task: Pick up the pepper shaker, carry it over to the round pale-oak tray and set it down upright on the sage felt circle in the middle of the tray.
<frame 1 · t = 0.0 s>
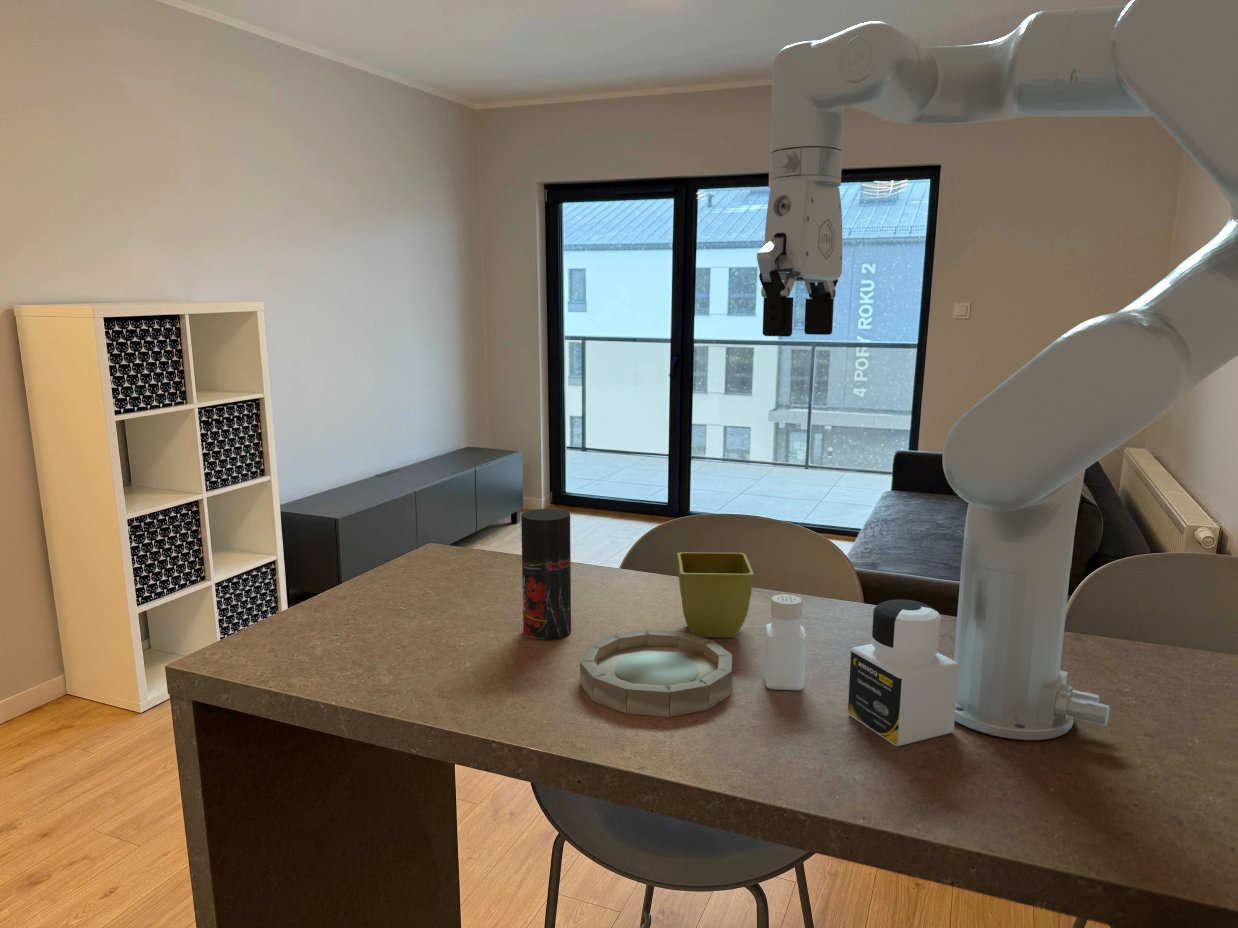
hand: (798, 335, 92), 37 cm above the table, tool pointing down, fingers open, 9 cm apart
deodorant: (547, 632, 105), on the table
flower pot: (712, 632, 105), on the table
tray: (656, 680, 91), on the table
medicine bottle: (899, 725, 81), on the table
pepper shaker: (783, 685, 90), on the table
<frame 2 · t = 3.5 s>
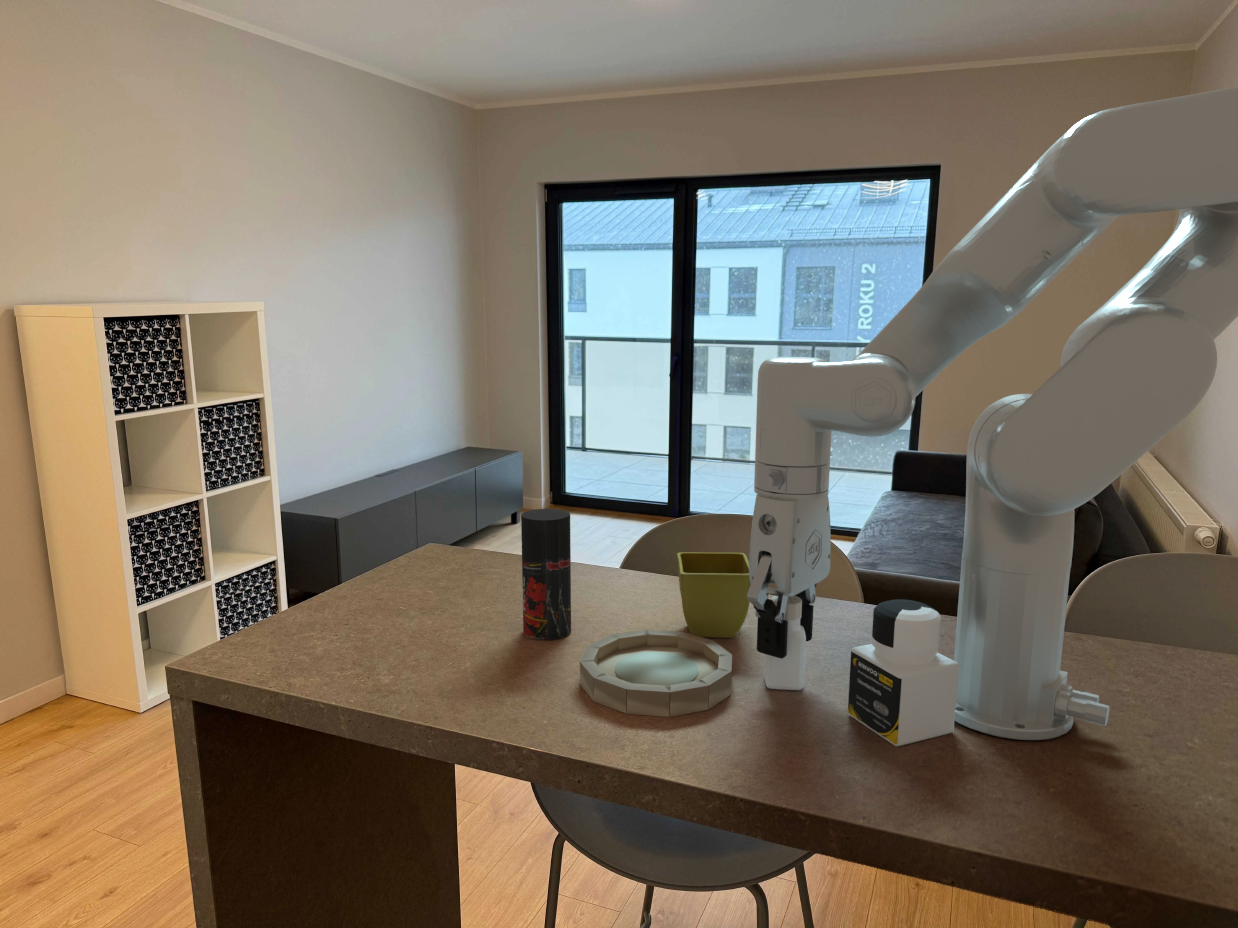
hand: (784, 644, 89), 4 cm above the table, tool pointing down, fingers closed on pepper shaker, 5 cm apart
pepper shaker: (783, 685, 90), on the table, touching gripper
everything else where it was.
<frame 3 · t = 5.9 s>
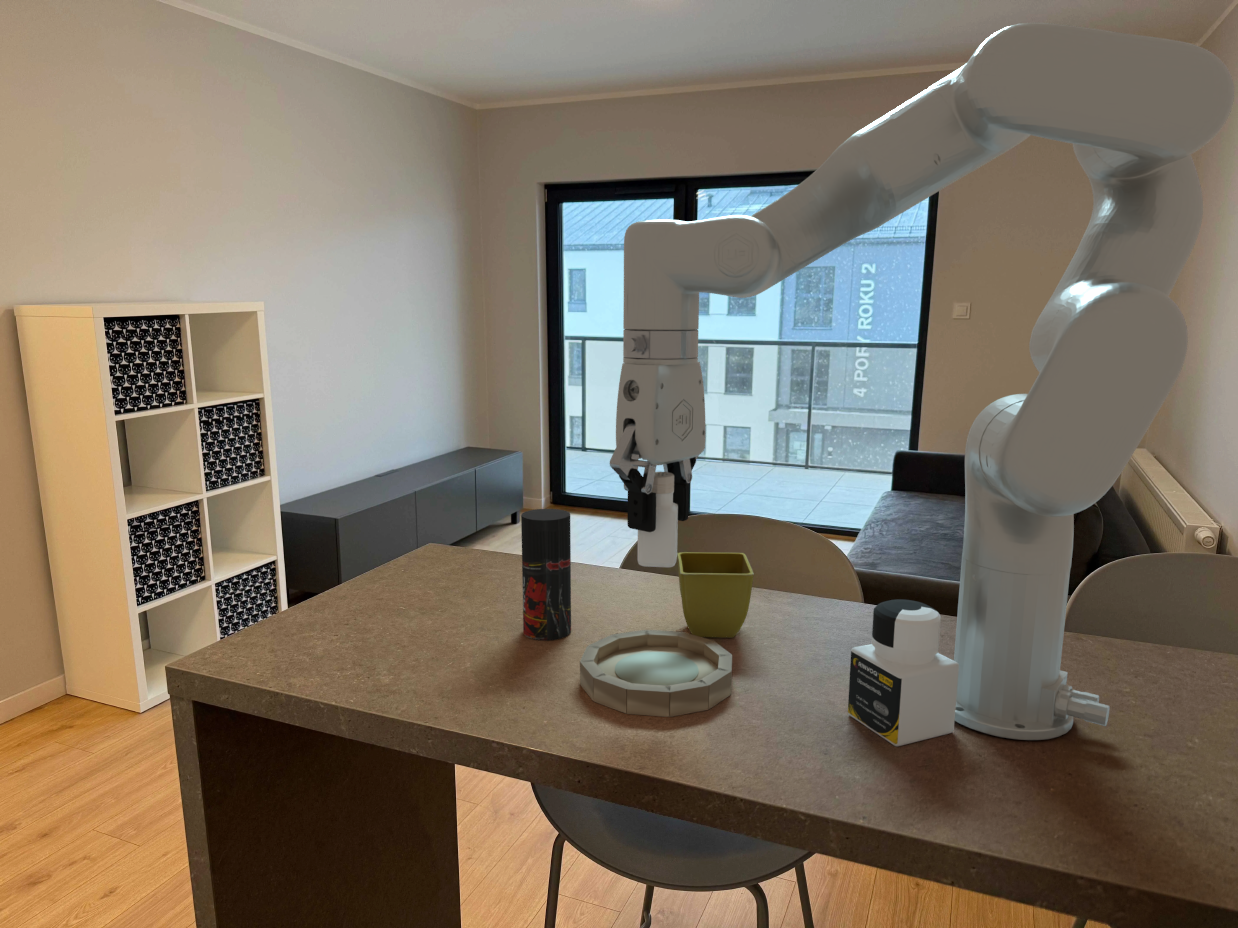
hand: (658, 522, 88), 18 cm above the table, tool pointing down, fingers closed on pepper shaker, 5 cm apart
pepper shaker: (657, 564, 88), point 13 cm above the table, touching gripper
everything else where it was.
when the fingers open (7 cm above the table, at t = 8.2 s): pepper shaker stays where it is, resting on tray.
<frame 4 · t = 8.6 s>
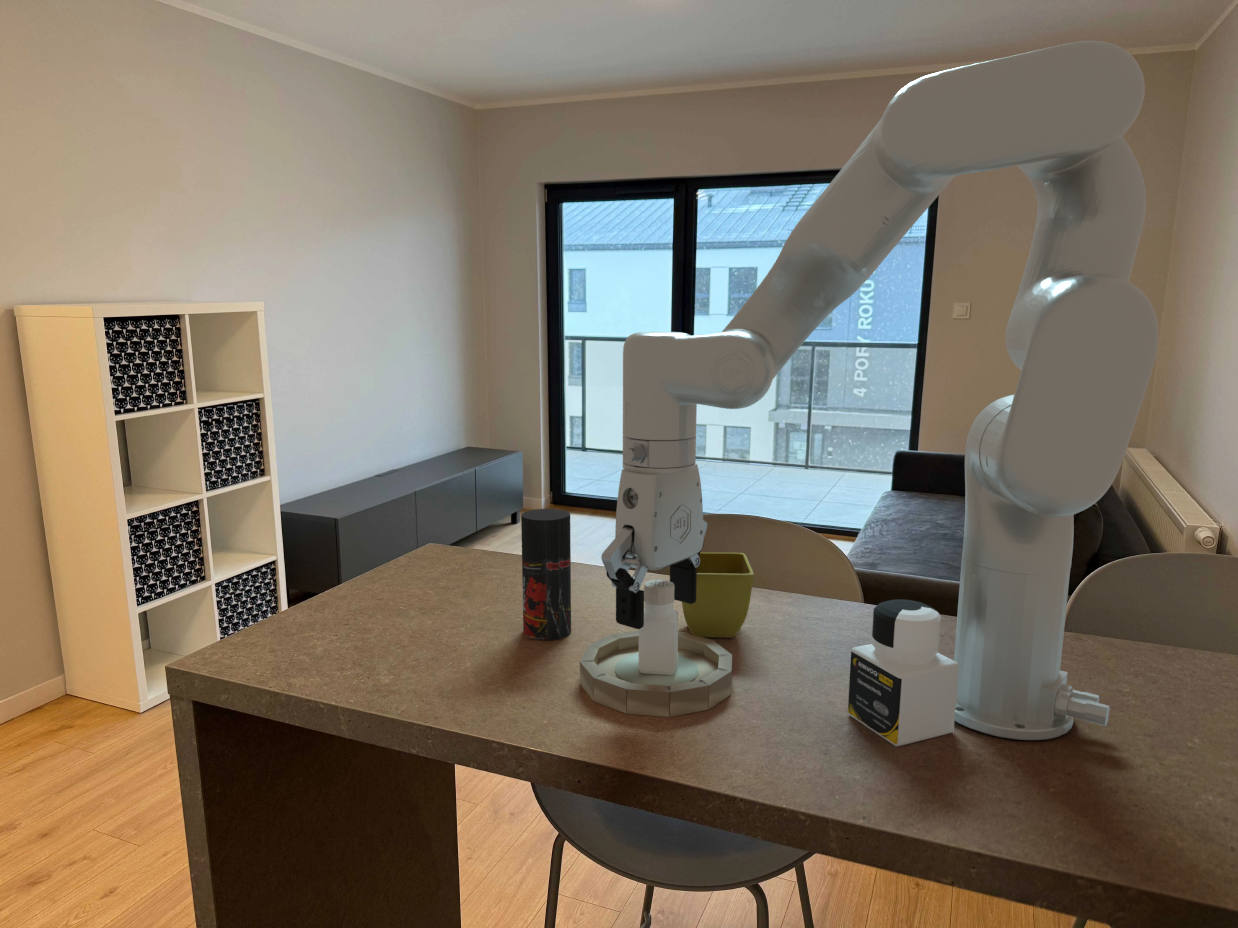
hand: (657, 612, 89), 8 cm above the table, tool pointing down, fingers open, 9 cm apart
pepper shaker: (658, 670, 90), point 1 cm above the table, touching tray
everything else where it was.
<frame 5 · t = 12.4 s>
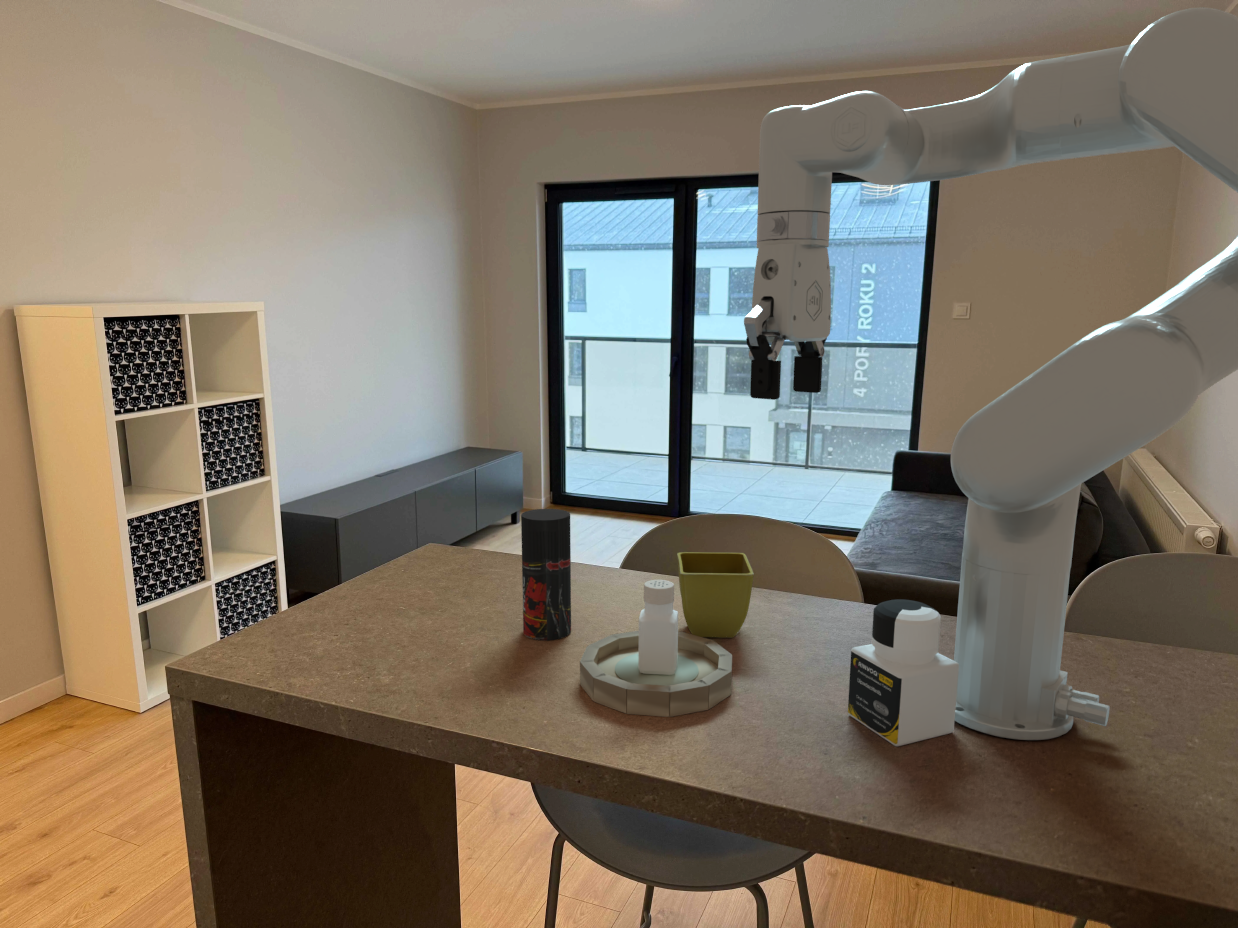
hand: (786, 395, 92), 30 cm above the table, tool pointing down, fingers open, 9 cm apart
nothing on the table moved.
at the end: pepper shaker 0.2 cm from the tray (horizontally); pepper shaker tilted 0°; pepper shaker point 1.2 cm above the table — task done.
